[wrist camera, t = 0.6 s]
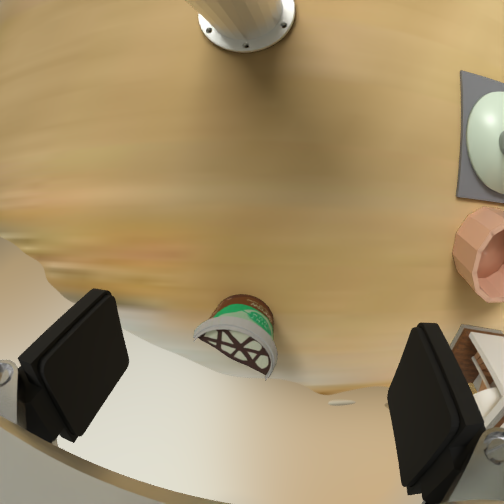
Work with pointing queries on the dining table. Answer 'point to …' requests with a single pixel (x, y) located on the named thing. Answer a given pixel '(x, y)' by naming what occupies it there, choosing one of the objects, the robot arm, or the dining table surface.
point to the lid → (487, 140)
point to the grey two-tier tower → (483, 369)
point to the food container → (242, 332)
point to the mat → (467, 178)
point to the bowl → (482, 252)
